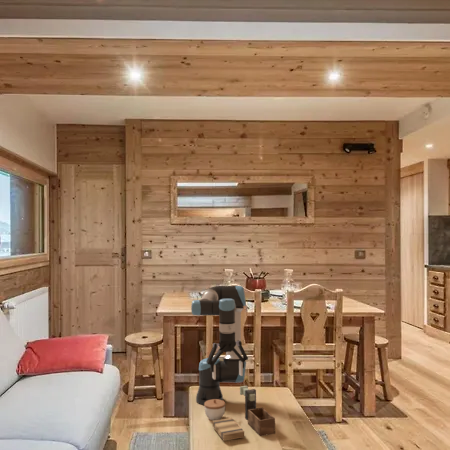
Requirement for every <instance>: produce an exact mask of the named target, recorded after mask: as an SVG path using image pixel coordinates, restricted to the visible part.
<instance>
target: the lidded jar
mask: <svg viewBox="0 0 450 450" xmlns="http://www.w3.org/2000/svg"><path fill="white" fill-rule="evenodd" d="M203 406H204V413H205V416H206V417H207V418H208V420H209V421H211V422H213V421H216V420H222V418H223V416H224V414H225V412H226V402H225V401H224V399H223V400H219V399H212V400H208V401H206V402H205V403H204V405H203Z"/></svg>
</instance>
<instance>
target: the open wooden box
mask: <svg viewBox="0 0 450 450" xmlns="http://www.w3.org/2000/svg"><path fill="white" fill-rule="evenodd" d="M247 425H248V426H249V427H250V428H251V429H252V430H253V431H254V432H255V433H256V434H257V435H258V436H259V437H262V436H263V437H264V436H267V435H273V434H276V418H275V417H274V416H273V415H272V414H271V413H269V412H268V411H267V410H266V409H264V407H258V408H257V407H256V409H250V410H248V420H247Z"/></svg>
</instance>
